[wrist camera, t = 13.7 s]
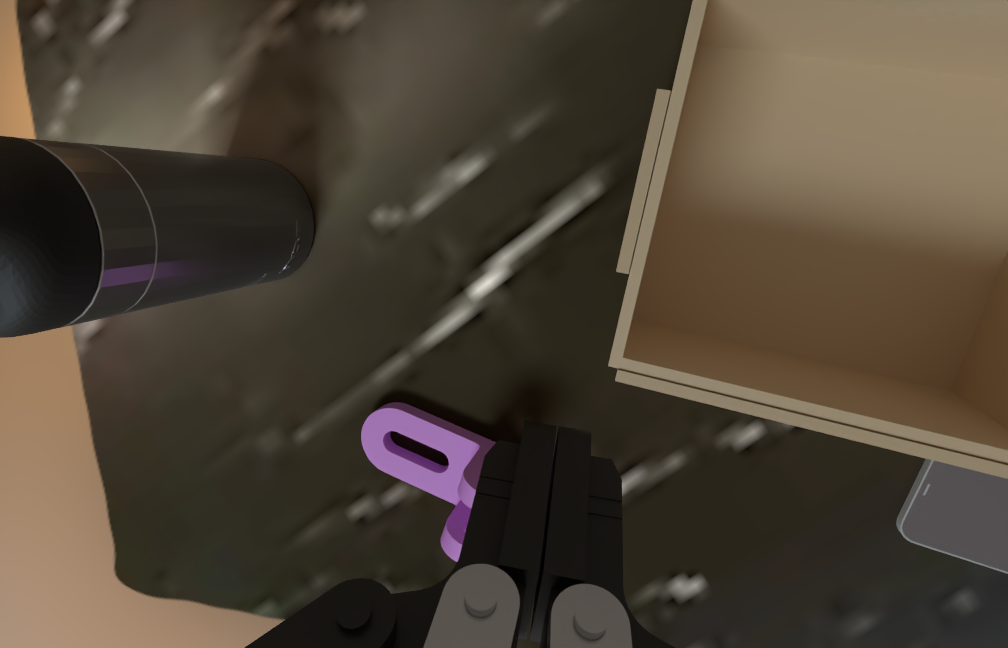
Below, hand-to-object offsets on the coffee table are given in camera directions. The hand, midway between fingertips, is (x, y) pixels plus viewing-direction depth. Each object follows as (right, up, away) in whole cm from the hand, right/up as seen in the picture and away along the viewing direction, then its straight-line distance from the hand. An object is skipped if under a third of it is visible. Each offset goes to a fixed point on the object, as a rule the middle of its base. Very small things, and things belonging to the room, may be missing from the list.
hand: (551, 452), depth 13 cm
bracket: (-6, -7, +32) cm, 33 cm away
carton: (+18, +9, +21) cm, 29 cm away
